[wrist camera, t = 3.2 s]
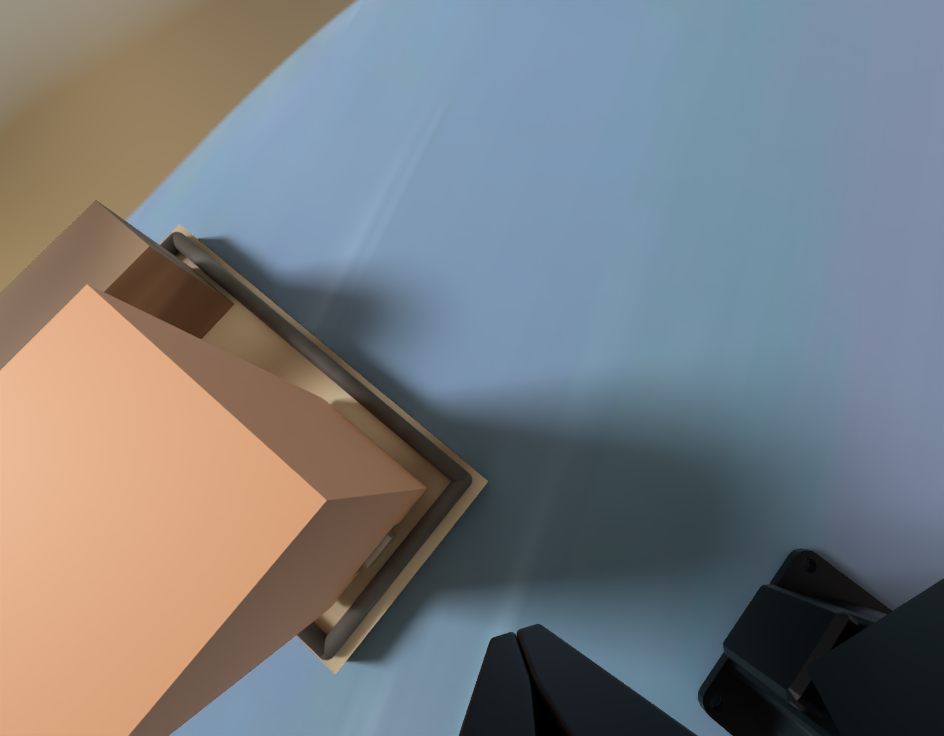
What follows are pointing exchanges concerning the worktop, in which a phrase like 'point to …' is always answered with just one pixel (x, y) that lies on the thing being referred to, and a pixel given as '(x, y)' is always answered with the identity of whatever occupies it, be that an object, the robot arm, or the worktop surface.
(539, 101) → the worktop surface
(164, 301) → the stop block
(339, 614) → the board
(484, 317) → the worktop surface
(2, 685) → the orange rectangular block
